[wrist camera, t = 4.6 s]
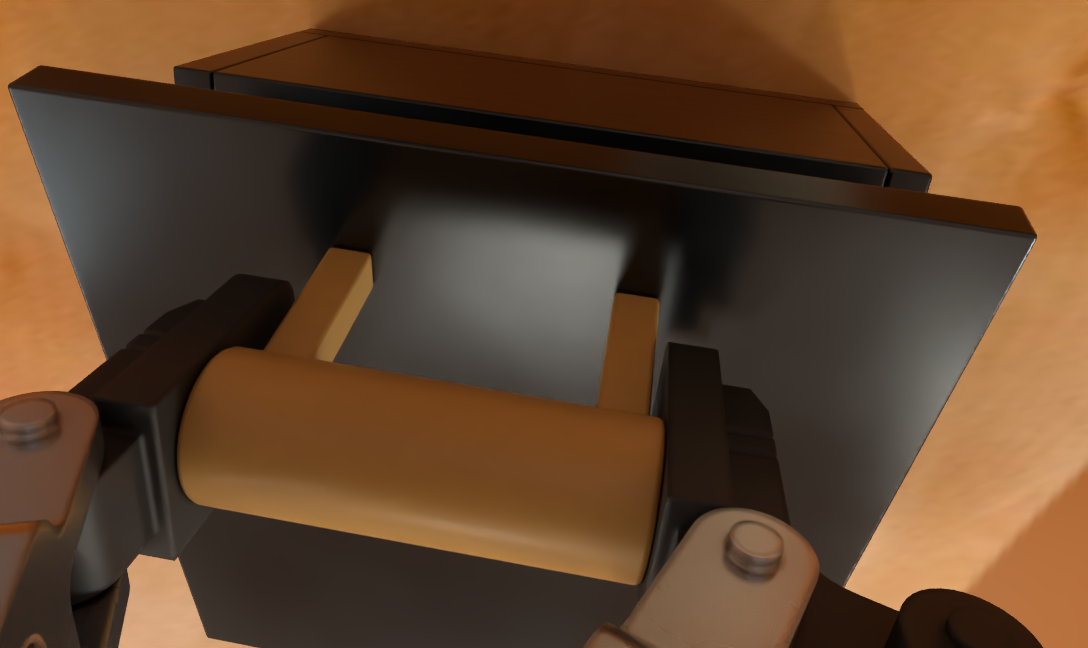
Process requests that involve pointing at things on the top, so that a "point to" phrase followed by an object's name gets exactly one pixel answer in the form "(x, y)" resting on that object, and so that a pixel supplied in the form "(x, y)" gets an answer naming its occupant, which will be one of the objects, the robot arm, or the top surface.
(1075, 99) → the top surface
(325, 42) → the bread bin
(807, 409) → the bin lid
